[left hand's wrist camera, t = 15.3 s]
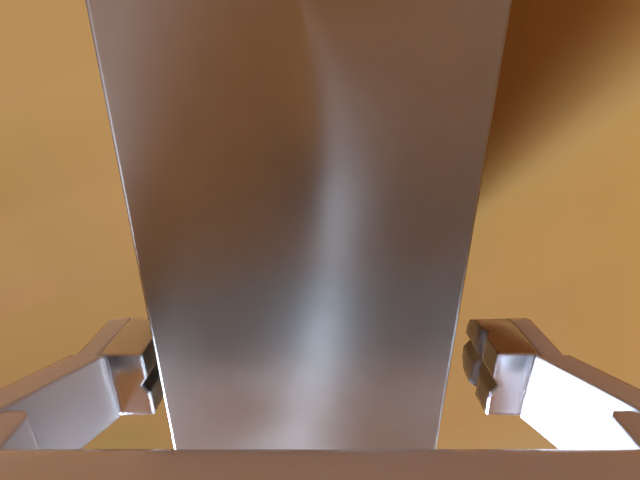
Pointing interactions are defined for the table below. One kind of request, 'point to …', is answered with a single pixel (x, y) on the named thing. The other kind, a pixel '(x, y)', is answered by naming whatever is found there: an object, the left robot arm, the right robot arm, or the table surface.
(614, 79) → the table surface
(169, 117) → the box
